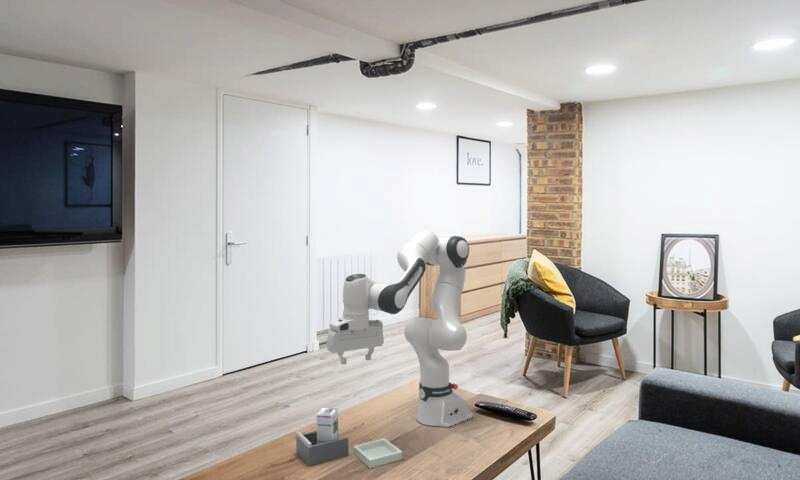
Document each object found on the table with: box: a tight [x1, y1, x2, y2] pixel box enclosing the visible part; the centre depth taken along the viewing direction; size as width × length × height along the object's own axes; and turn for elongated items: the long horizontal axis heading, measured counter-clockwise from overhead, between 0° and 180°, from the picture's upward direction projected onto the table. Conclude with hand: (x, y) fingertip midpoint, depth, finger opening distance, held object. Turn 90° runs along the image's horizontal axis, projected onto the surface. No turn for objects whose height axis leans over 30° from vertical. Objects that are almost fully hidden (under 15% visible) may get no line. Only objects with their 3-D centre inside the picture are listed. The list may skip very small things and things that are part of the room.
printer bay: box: [295, 430, 349, 467], centre depth 184 cm, size 14×11×7 cm
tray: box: [352, 438, 403, 469], centre depth 183 cm, size 12×12×3 cm
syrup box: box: [315, 407, 339, 444], centre depth 185 cm, size 6×6×14 cm
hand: (356, 361), depth 189 cm, fingers open, 8 cm apart
